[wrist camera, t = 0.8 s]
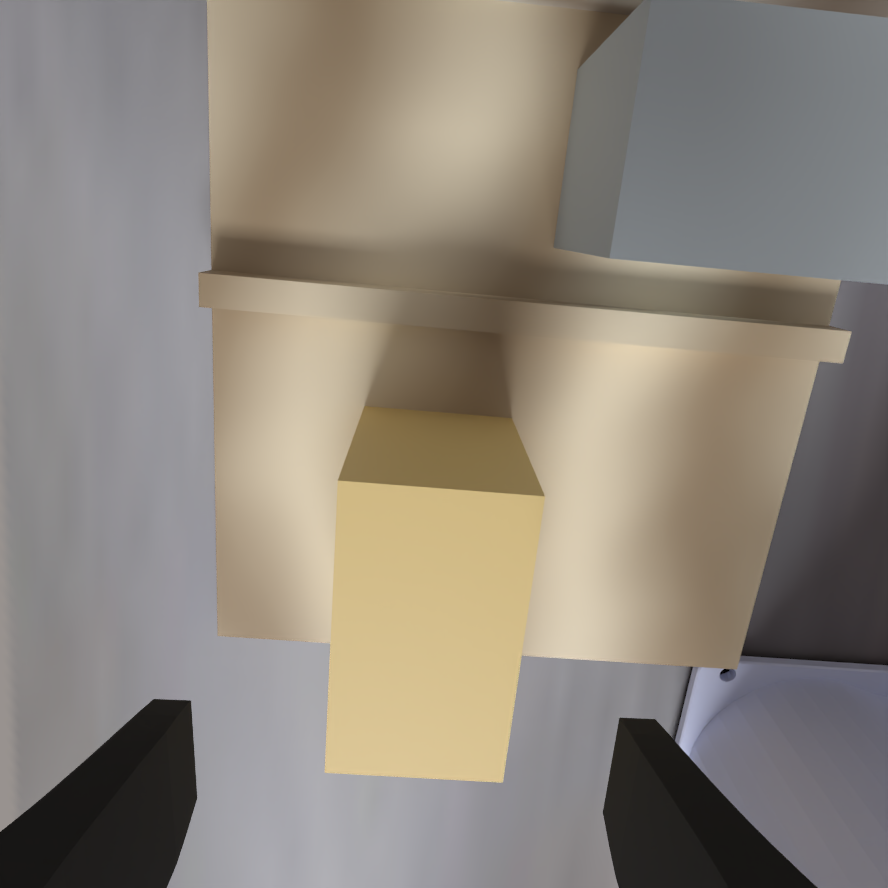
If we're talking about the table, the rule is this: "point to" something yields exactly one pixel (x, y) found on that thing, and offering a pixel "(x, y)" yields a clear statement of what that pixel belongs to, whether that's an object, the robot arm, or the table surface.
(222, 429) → the beige divided tray
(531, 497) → the ochre carton
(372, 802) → the table surface
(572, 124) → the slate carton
